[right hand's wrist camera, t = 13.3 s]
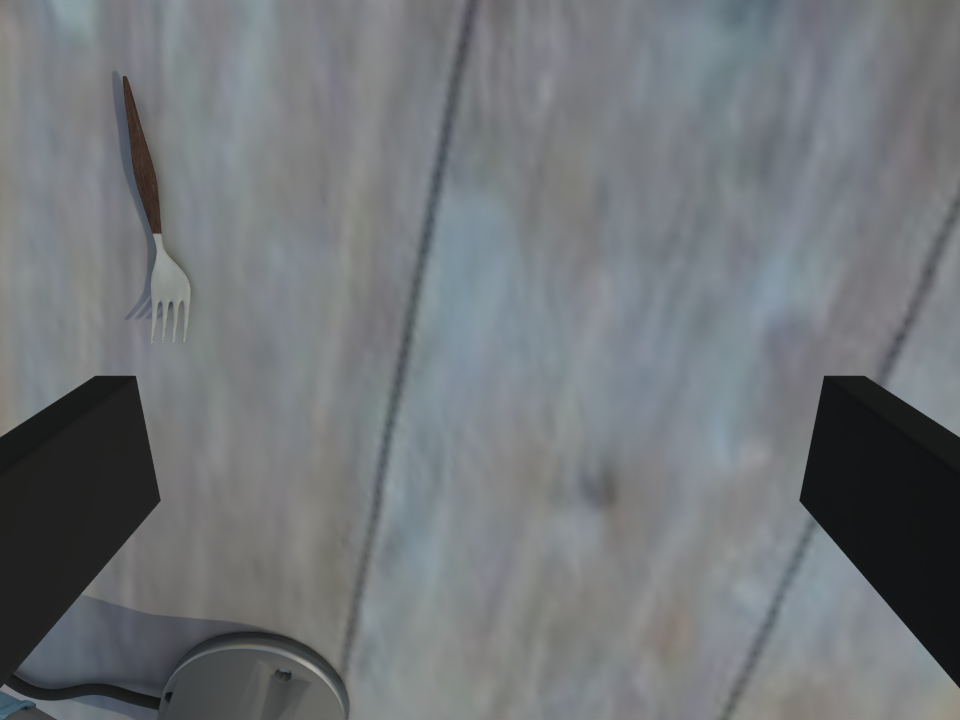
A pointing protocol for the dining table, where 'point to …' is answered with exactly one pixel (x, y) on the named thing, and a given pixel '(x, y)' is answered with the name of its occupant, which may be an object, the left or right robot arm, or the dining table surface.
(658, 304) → the dining table surface
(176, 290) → the fork
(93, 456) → the right robot arm
